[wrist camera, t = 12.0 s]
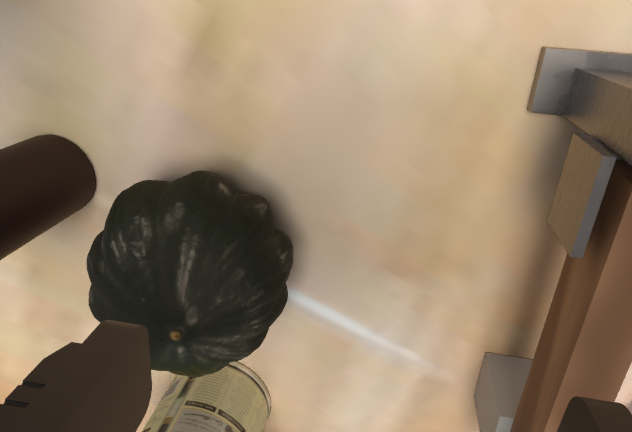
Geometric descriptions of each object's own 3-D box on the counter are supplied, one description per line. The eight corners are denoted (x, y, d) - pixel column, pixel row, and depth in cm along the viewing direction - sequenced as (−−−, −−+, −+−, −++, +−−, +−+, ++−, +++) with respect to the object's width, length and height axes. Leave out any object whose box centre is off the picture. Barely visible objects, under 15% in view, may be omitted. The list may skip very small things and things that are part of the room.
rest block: (473, 396, 43) (485, 464, 37) (485, 352, 41) (500, 416, 34) (532, 406, 42) (554, 477, 36) (547, 361, 40) (573, 429, 34)
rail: (494, 480, 37) (505, 538, 33) (598, 157, 26) (633, 185, 22) (534, 487, 37) (550, 548, 33) (657, 163, 26) (704, 193, 22)
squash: (65, 303, 39) (100, 457, 29) (81, 131, 33) (133, 245, 23) (225, 287, 48) (298, 402, 37) (260, 147, 42) (360, 237, 31)
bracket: (508, 185, 35) (566, 289, 22) (542, 46, 31) (636, 77, 18) (626, 198, 34) (757, 316, 21) (677, 57, 30) (876, 98, 17)
